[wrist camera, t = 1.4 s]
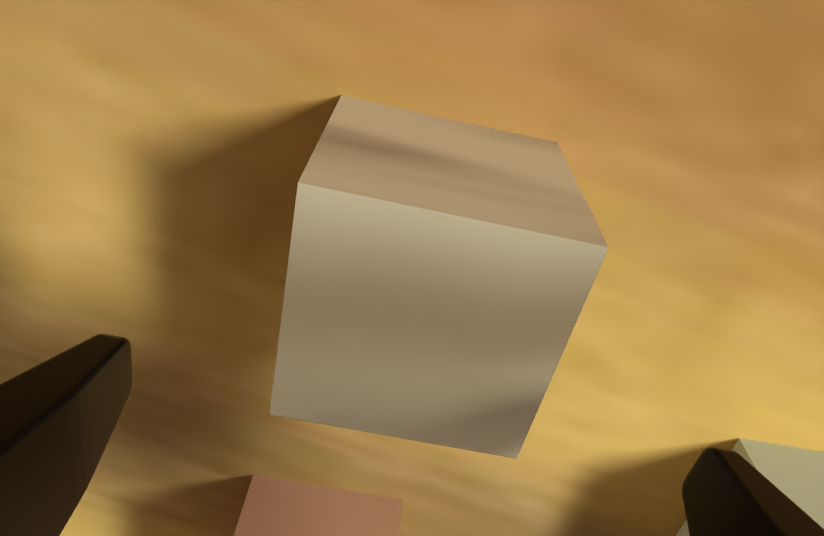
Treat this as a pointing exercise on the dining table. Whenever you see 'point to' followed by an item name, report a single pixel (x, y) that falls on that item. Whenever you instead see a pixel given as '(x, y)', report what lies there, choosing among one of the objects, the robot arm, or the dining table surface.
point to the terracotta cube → (314, 511)
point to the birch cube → (431, 279)
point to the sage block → (786, 474)
